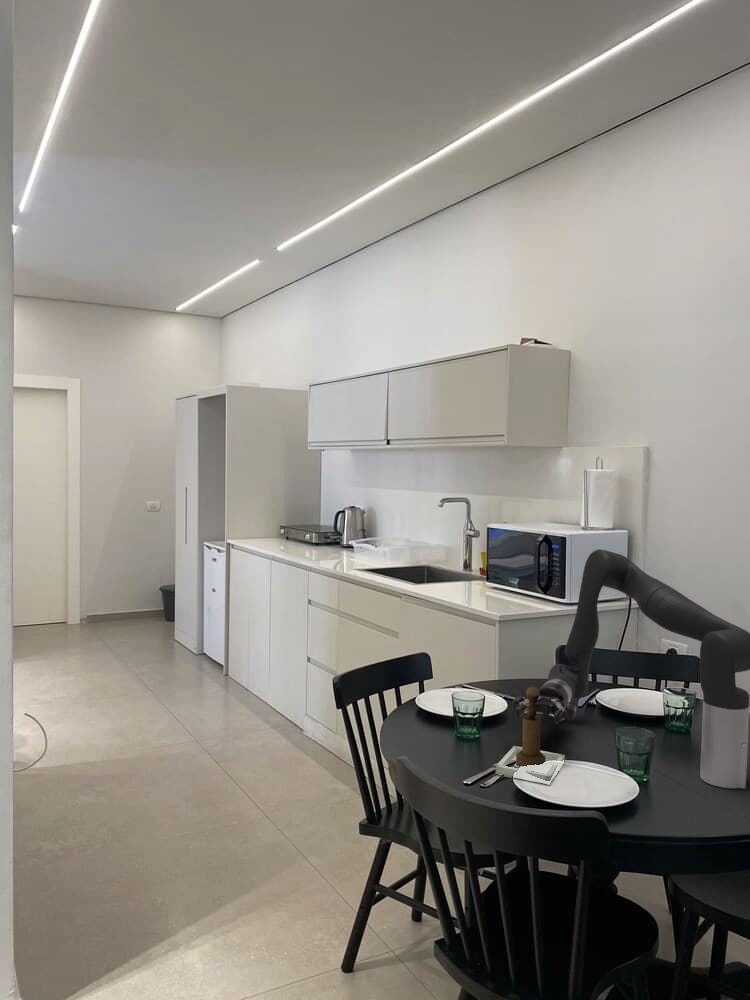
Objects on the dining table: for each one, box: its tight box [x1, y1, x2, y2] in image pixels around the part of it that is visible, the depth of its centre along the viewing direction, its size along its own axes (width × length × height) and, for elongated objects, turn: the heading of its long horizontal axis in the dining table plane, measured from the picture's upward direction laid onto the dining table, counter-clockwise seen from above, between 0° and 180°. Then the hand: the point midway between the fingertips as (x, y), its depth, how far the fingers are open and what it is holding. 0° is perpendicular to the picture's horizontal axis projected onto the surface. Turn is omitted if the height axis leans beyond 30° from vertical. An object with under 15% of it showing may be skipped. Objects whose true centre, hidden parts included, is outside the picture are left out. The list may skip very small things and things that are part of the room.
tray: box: [495, 745, 566, 781], centre depth 182 cm, size 12×14×2 cm
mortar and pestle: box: [516, 686, 546, 767], centre depth 181 cm, size 7×6×18 cm
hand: (536, 716), depth 185 cm, fingers open, 8 cm apart
